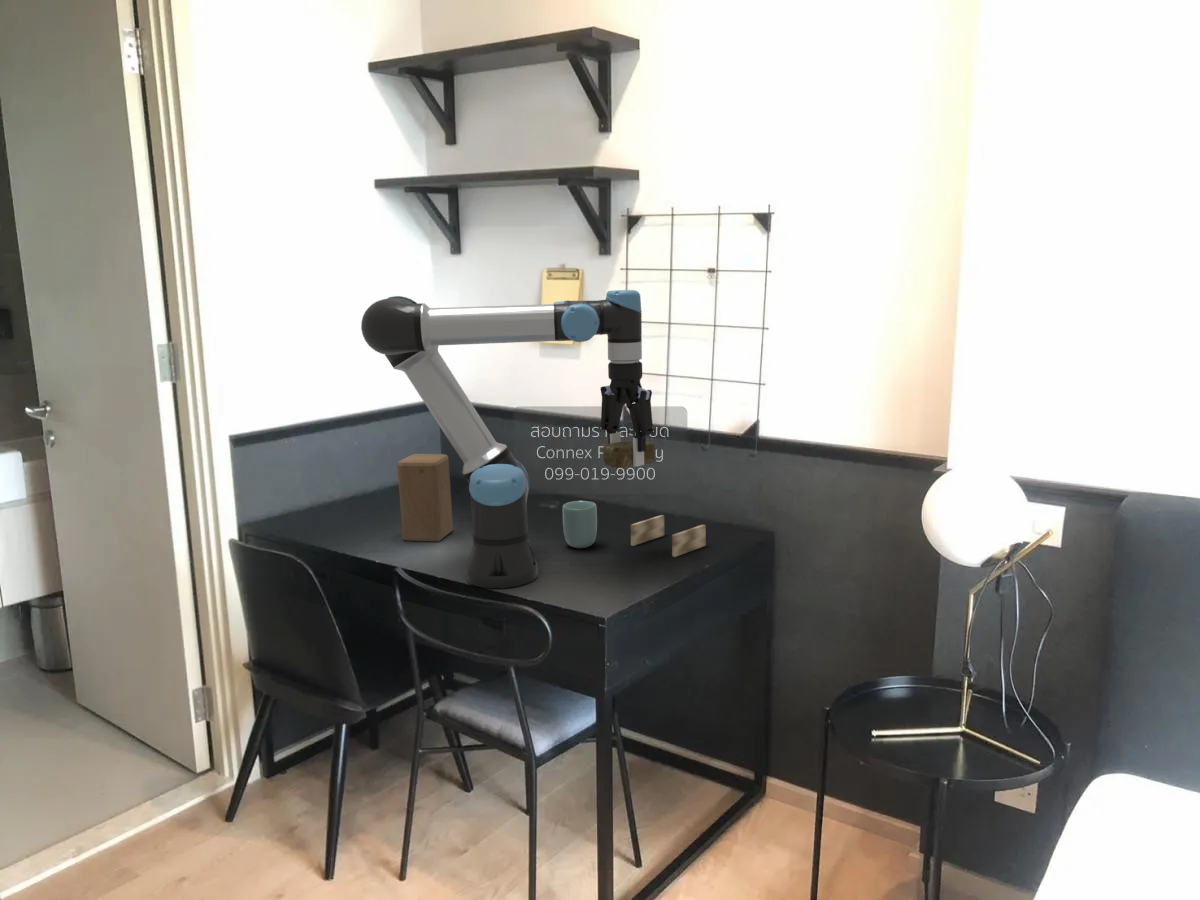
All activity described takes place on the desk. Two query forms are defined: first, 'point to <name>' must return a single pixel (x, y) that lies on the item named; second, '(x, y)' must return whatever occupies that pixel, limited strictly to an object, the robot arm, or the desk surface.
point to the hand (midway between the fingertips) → (627, 463)
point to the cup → (580, 523)
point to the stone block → (625, 454)
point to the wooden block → (425, 497)
